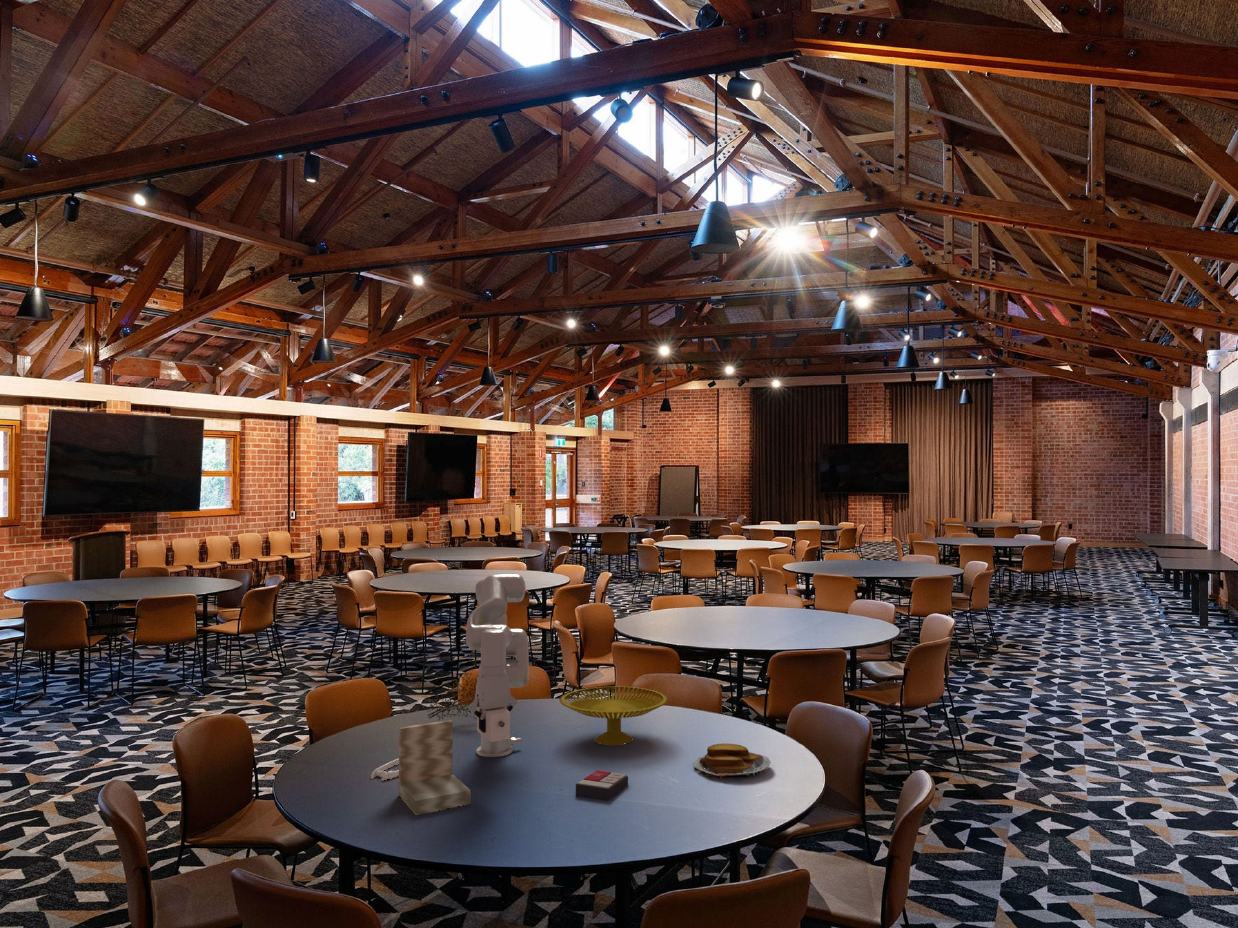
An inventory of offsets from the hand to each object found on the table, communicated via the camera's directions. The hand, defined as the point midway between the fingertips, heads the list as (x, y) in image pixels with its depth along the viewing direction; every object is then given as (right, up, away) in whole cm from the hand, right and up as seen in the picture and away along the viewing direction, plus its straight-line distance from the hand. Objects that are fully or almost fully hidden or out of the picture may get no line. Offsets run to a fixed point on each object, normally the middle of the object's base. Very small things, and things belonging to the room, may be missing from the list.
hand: (493, 729), depth 246 cm
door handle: (-32, -20, +19) cm, 42 cm away
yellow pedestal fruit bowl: (+37, -20, +49) cm, 65 cm away
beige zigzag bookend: (-16, -18, -10) cm, 26 cm away
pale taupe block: (0, -2, 0) cm, 2 cm away
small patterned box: (+33, -18, -2) cm, 38 cm away
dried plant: (-17, -22, +72) cm, 77 cm away
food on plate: (+75, -19, +16) cm, 79 cm away
